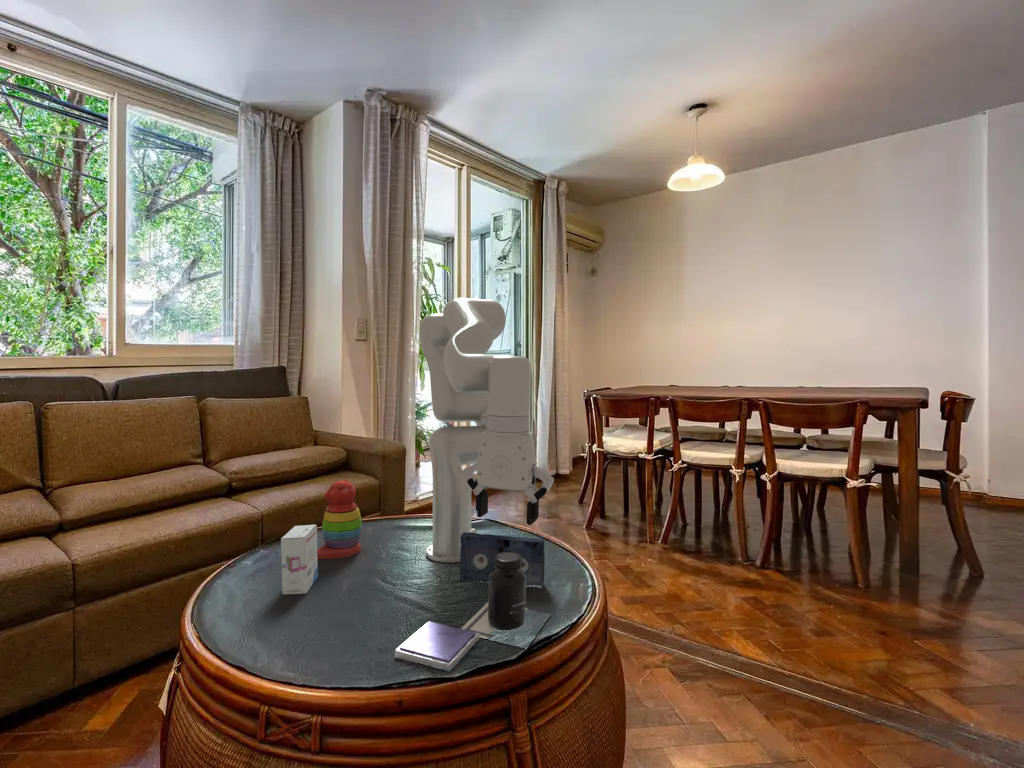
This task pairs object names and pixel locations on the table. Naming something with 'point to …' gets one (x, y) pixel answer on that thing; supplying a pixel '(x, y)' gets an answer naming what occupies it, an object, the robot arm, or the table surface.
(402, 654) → the ink pad
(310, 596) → the table surface
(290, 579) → the ink box
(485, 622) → the marked card
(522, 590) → the supplement bottle
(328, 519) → the stacking bear
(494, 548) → the vhs cassette tape
